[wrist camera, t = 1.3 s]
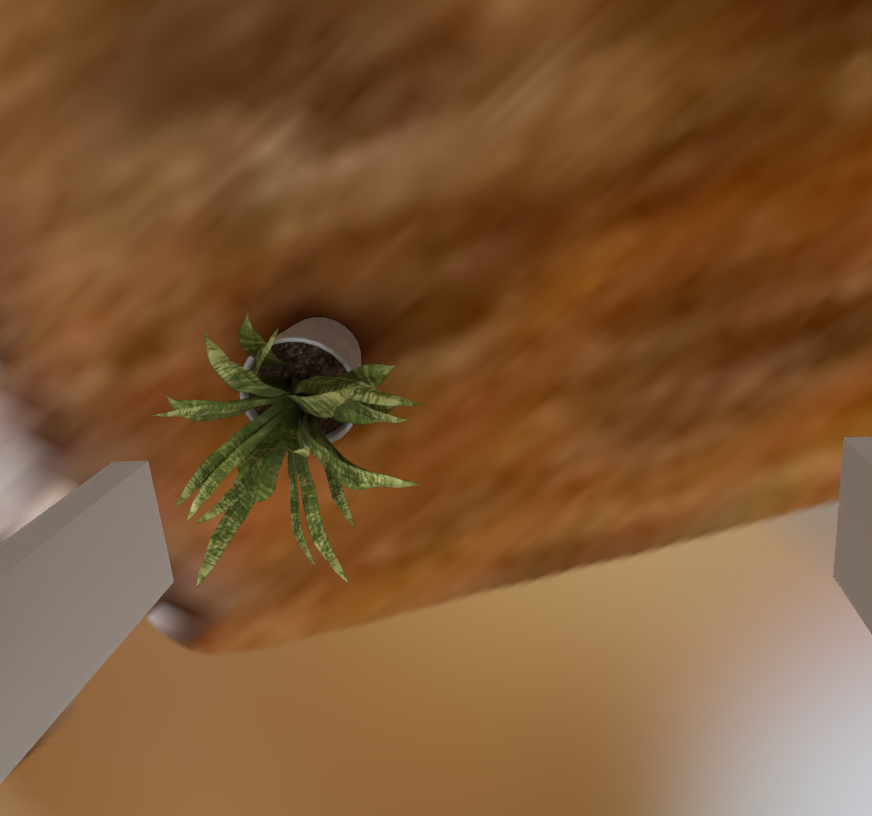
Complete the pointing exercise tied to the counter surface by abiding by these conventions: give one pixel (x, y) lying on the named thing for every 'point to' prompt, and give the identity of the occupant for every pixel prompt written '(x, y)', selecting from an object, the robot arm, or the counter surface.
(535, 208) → the counter surface
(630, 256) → the counter surface
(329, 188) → the counter surface
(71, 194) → the counter surface
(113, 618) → the robot arm
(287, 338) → the house plant
